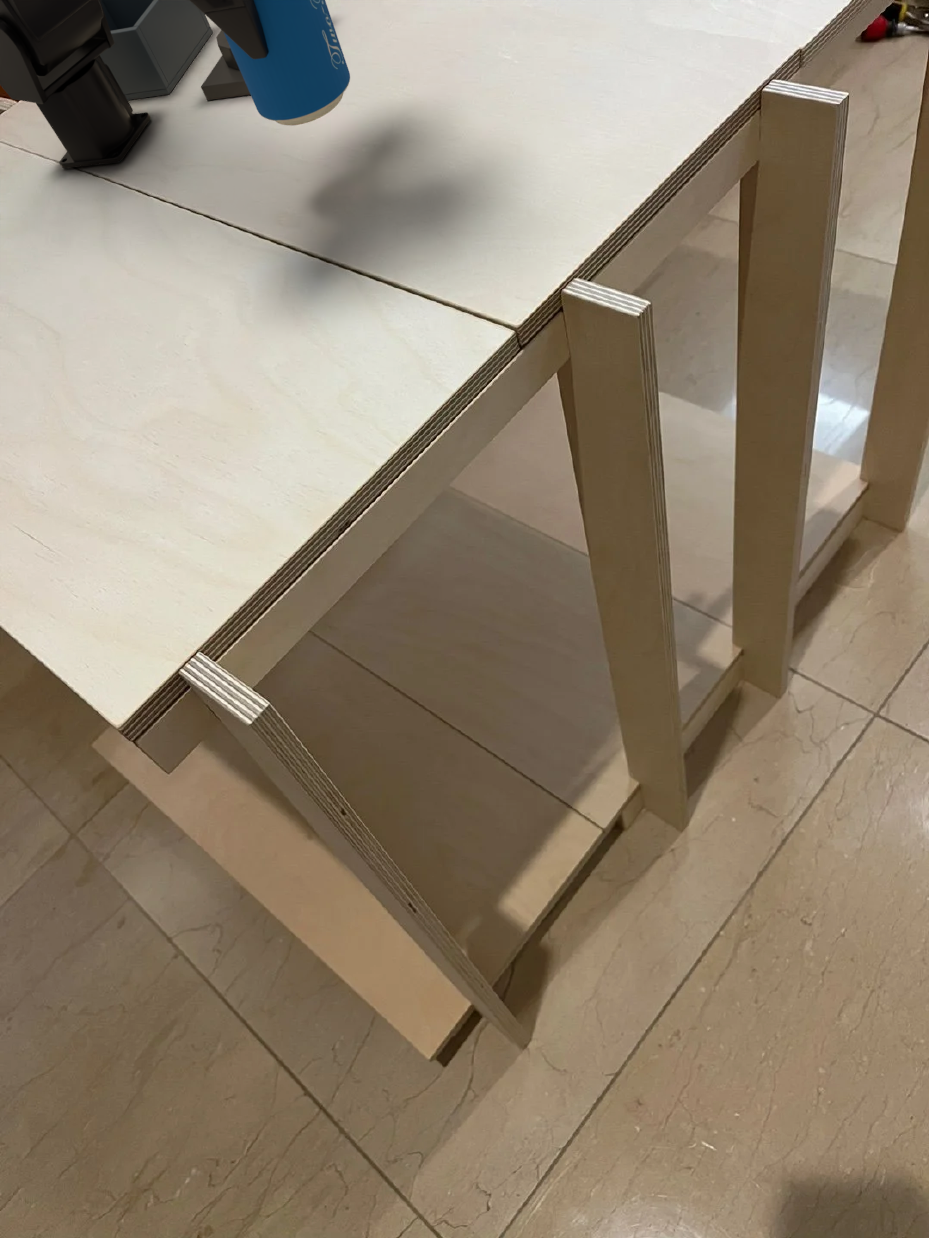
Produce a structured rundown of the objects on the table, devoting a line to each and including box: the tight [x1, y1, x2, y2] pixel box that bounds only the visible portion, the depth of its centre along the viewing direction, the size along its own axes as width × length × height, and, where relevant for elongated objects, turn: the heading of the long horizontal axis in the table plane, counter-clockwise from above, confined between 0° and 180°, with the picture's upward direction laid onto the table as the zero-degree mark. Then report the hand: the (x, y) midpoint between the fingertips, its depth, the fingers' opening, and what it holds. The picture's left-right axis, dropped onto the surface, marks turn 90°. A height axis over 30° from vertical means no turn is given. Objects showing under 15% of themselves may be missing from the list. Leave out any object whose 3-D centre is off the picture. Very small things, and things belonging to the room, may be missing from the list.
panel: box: [200, 29, 251, 101], centre depth 78 cm, size 10×8×3 cm
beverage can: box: [224, 0, 351, 126], centre depth 54 cm, size 6×6×12 cm
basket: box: [100, 0, 214, 101], centre depth 82 cm, size 10×10×6 cm
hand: (280, 26), depth 55 cm, fingers closed on beverage can, 6 cm apart
